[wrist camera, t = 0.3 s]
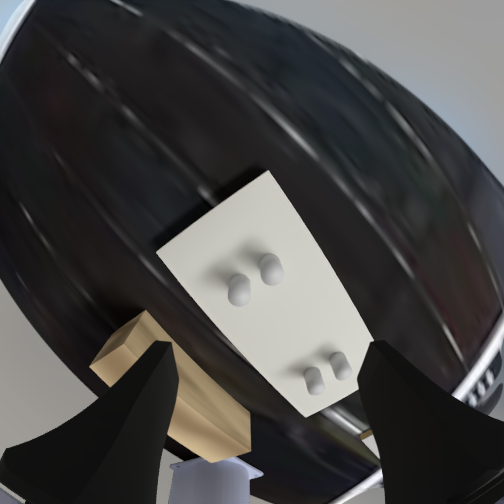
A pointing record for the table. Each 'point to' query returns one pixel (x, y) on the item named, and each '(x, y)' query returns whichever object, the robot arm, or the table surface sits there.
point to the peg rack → (273, 294)
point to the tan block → (181, 393)
